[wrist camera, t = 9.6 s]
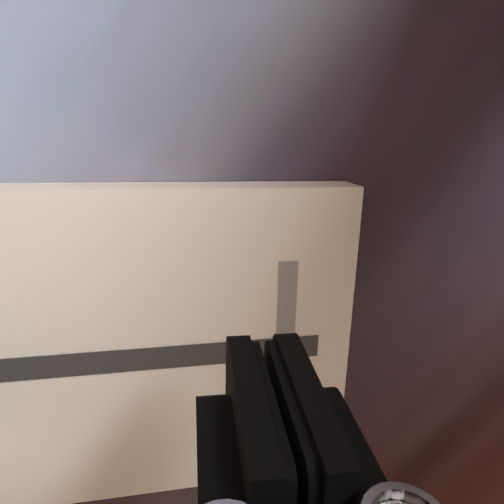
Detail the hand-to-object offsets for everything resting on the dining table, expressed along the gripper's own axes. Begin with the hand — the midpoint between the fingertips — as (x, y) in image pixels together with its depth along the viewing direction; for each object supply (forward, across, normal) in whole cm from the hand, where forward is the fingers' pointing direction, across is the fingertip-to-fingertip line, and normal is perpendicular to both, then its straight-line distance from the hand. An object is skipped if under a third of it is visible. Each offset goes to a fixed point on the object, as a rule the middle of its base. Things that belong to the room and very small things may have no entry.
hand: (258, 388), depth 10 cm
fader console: (+9, +5, +4) cm, 11 cm away
